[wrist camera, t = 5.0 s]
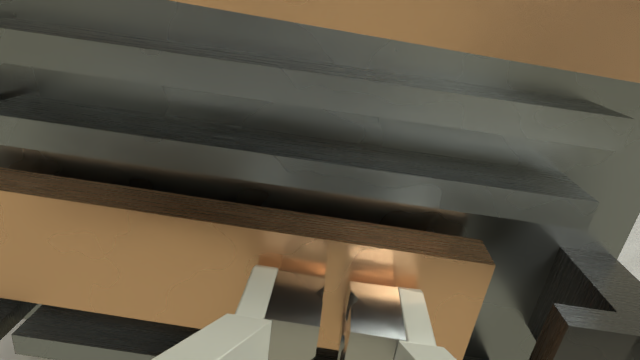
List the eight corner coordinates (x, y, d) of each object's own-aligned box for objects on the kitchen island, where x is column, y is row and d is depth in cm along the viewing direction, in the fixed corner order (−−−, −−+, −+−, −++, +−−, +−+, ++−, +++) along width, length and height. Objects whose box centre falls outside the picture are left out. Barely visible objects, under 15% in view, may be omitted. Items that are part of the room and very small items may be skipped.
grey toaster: (62, 222, 16) (-165, 396, 9) (4, -244, 11) (-671, -731, 4) (493, 286, 16) (609, 512, 9) (650, -154, 11) (1261, -473, 4)
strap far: (-26, 263, 11) (-61, 288, 10) (-49, 159, 9) (-92, 176, 9) (449, 336, 10) (459, 369, 9) (481, 239, 9) (496, 265, 8)
